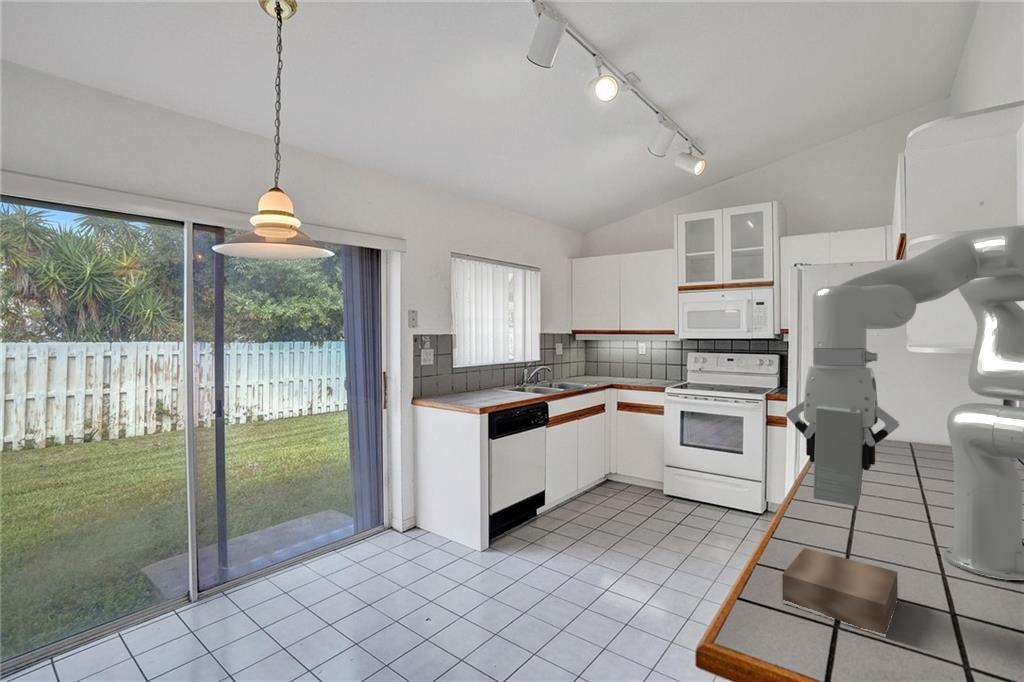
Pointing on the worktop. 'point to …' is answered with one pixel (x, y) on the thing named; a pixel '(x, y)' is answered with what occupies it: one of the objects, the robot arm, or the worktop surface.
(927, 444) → the worktop surface
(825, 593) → the walnut box
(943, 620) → the worktop surface
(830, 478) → the skincare box
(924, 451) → the worktop surface
